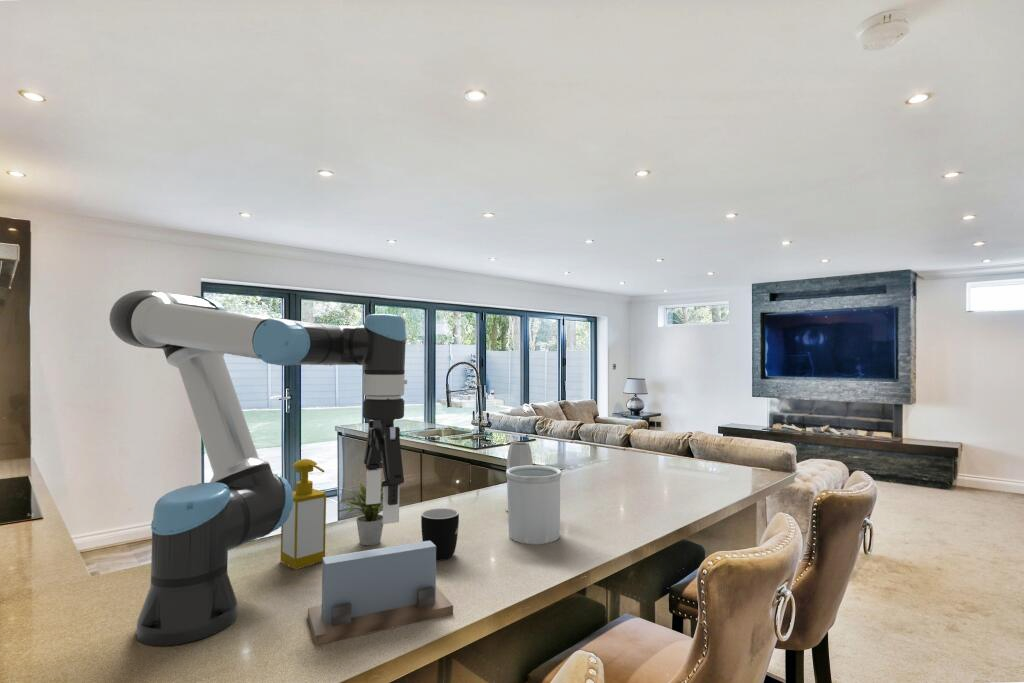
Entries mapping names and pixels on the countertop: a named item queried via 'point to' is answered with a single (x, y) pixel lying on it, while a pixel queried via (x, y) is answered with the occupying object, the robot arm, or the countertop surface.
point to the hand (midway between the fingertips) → (381, 512)
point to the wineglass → (519, 455)
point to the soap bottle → (304, 522)
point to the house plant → (368, 518)
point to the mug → (441, 530)
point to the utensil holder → (533, 503)
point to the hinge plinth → (377, 617)
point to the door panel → (377, 578)
